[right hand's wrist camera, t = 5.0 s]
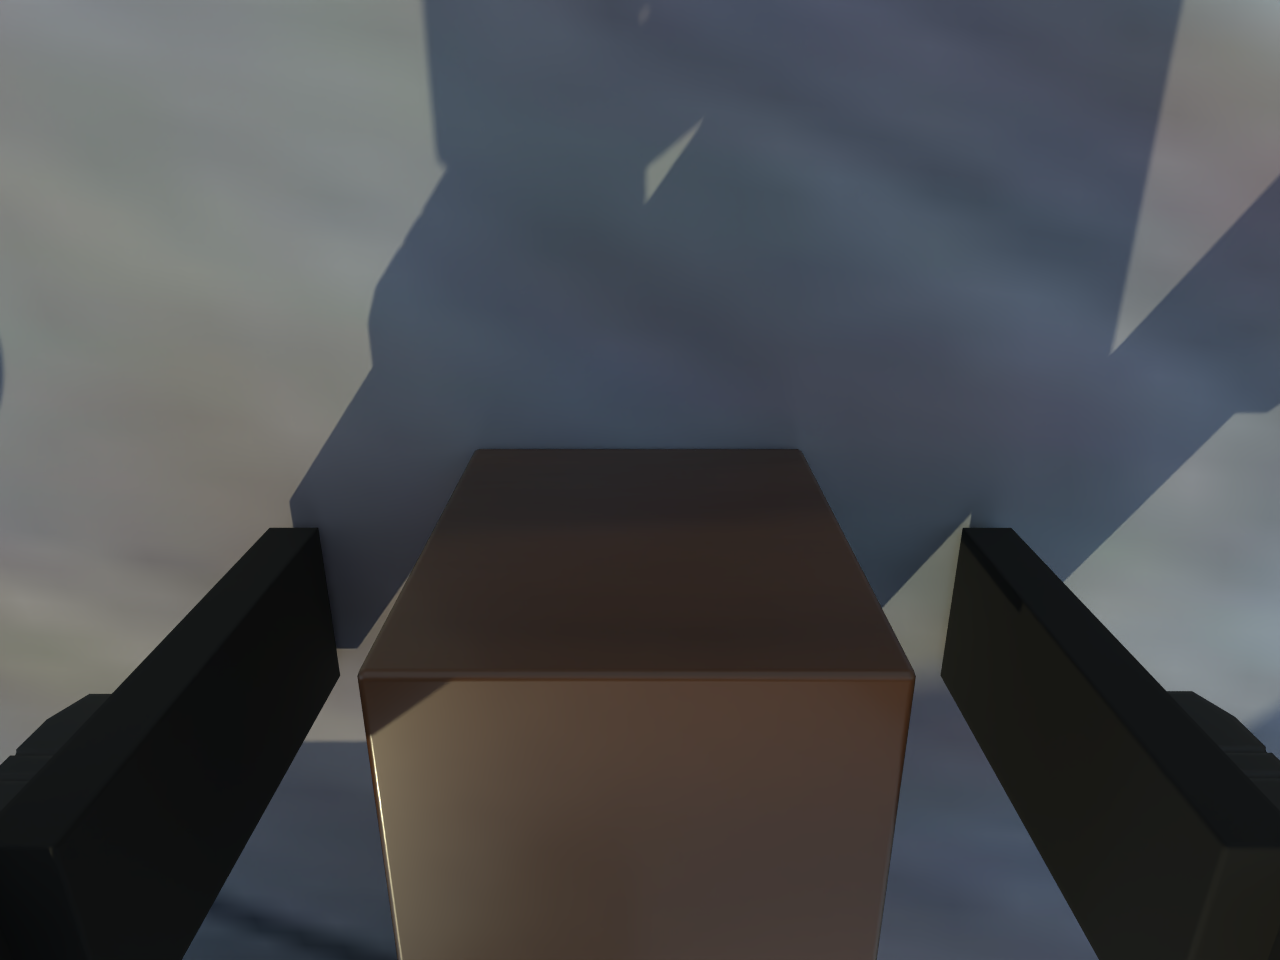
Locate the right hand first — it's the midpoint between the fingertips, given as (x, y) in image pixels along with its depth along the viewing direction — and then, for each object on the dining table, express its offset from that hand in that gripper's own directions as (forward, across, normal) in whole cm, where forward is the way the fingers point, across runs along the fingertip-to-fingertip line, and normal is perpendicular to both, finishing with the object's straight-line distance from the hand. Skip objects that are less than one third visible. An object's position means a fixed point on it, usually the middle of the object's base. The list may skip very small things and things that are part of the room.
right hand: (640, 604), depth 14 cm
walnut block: (0, 0, 0) cm, 0 cm away
